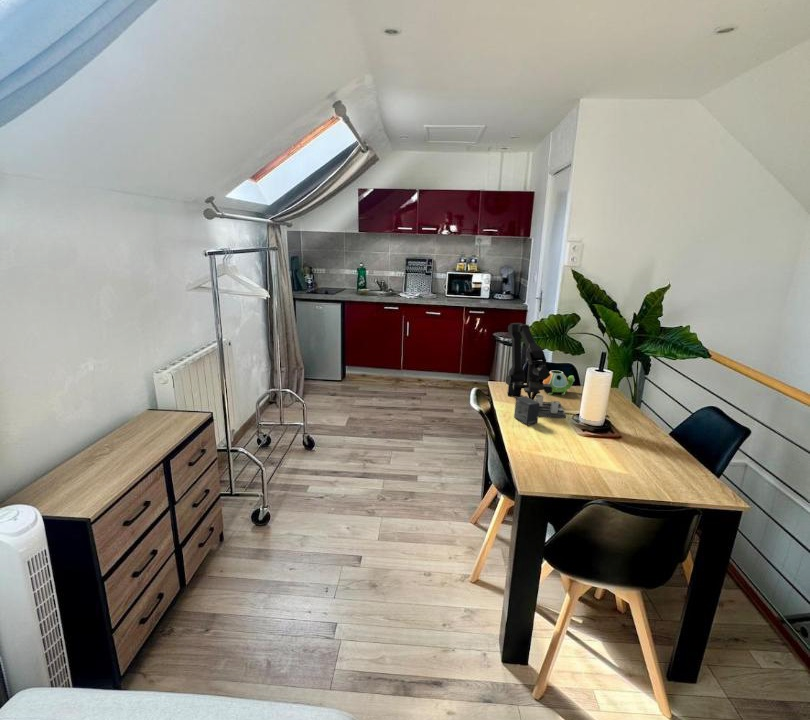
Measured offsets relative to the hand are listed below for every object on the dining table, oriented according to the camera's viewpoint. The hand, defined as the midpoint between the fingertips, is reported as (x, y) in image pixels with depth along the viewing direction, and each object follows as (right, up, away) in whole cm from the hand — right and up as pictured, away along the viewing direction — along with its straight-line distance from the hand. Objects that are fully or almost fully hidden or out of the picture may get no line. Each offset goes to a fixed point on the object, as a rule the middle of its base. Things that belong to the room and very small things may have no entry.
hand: (530, 403), depth 233 cm
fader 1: (+4, -1, 0) cm, 4 cm away
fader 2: (+9, -3, -9) cm, 13 cm away
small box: (-7, -7, -16) cm, 19 cm away
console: (+8, -3, -2) cm, 9 cm away
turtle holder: (+22, +4, +26) cm, 34 cm away
